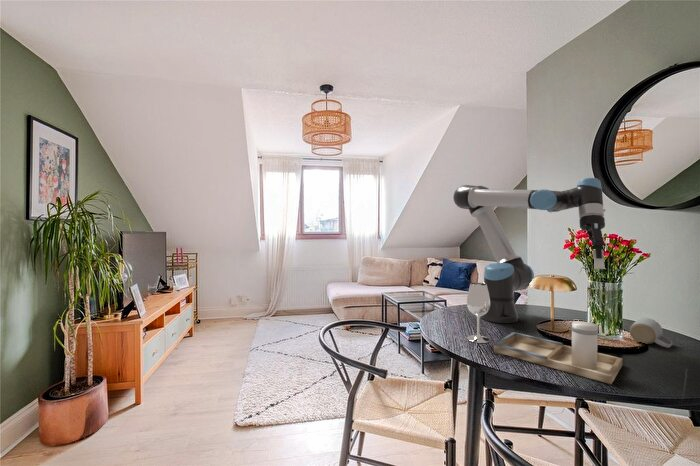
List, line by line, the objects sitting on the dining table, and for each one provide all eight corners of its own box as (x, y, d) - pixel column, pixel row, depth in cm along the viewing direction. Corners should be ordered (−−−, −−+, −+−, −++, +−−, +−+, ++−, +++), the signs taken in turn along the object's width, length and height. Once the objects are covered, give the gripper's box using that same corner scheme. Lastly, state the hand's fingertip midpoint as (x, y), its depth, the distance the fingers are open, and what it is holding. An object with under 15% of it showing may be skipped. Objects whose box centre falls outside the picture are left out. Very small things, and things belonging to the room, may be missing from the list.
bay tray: (493, 352, 106) (493, 343, 106) (513, 340, 117) (513, 331, 117) (611, 386, 84) (611, 374, 84) (622, 366, 95) (622, 356, 95)
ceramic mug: (627, 341, 115) (628, 319, 115) (634, 336, 120) (634, 315, 120) (669, 351, 107) (670, 327, 107) (674, 345, 112) (675, 322, 112)
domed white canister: (568, 365, 96) (569, 324, 95) (574, 359, 100) (574, 319, 99) (594, 372, 91) (595, 329, 91) (599, 365, 95) (600, 324, 95)
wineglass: (491, 344, 113) (491, 286, 113) (466, 342, 116) (466, 285, 115) (489, 337, 121) (489, 282, 120) (466, 334, 123) (466, 281, 123)
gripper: (611, 203, 111) (617, 264, 105) (597, 229, 132) (602, 282, 125) (584, 204, 115) (588, 263, 108) (575, 229, 135) (578, 280, 129)
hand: (595, 273), depth 117 cm, fingers open, 13 cm apart
